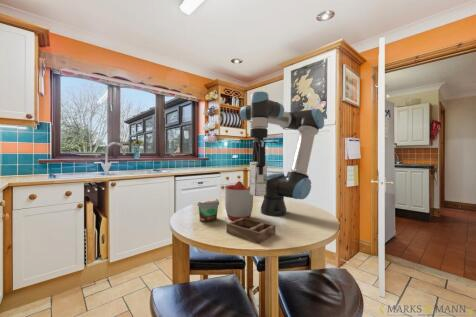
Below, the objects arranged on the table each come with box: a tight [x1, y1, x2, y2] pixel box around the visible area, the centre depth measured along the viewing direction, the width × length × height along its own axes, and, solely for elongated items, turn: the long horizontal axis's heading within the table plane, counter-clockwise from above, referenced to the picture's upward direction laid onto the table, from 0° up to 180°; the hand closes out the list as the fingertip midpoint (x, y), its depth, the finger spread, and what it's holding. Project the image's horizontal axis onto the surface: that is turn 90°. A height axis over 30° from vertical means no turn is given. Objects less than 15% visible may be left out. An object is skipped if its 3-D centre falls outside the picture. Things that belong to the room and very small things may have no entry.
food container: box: [197, 198, 220, 223], centre depth 113 cm, size 12×6×10 cm, turn 131°
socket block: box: [226, 217, 276, 245], centre depth 96 cm, size 12×18×4 cm
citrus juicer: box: [224, 180, 254, 221], centre depth 119 cm, size 16×17×20 cm
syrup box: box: [248, 161, 268, 197], centre depth 96 cm, size 6×6×14 cm
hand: (257, 181), depth 96 cm, fingers closed on syrup box, 6 cm apart
